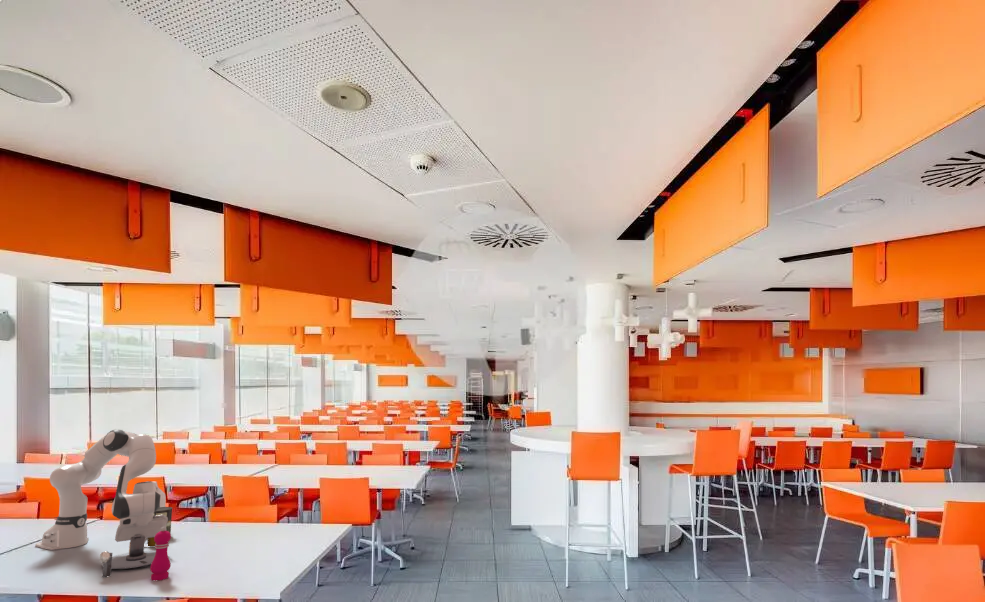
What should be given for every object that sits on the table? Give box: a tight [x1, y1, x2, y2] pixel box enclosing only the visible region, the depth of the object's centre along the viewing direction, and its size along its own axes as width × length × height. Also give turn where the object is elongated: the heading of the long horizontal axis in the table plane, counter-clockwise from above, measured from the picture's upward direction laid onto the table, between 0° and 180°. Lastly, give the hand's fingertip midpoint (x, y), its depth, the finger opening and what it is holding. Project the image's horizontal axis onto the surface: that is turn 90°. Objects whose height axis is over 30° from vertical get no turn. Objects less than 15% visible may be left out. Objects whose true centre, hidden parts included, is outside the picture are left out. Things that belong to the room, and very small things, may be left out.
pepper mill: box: [149, 527, 172, 582], centre depth 235 cm, size 7×7×20 cm
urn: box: [126, 534, 146, 561], centre depth 255 cm, size 8×8×10 cm
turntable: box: [101, 545, 156, 570], centre depth 254 cm, size 24×24×6 cm
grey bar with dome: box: [99, 550, 113, 578], centre depth 237 cm, size 4×3×10 cm
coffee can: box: [153, 506, 173, 535], centre depth 297 cm, size 10×10×14 cm
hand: (140, 548), depth 264 cm, fingers closed
